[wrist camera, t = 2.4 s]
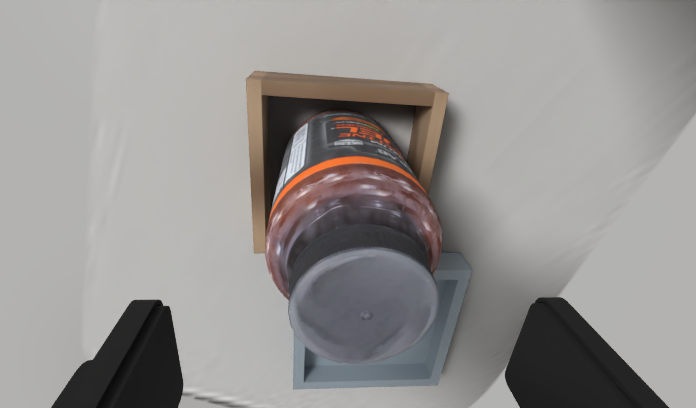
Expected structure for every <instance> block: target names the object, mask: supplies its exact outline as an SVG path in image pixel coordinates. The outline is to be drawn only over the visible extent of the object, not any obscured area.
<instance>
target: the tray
mask: <svg viewBox="0 0 696 408" xmlns="http://www.w3.org/2000/svg"><path fill="white" fill-rule="evenodd" d="M471 272H472V270H471V268H470V266H469V265H468V263H467V262H466V260H465V259H464V257H463V255H462V254H461V253H441V256H440V260H439V264H438V266H437V269H436V270H435V272H434V274H433V277H434V279H435V281H436V284H437V287H438V292H439V308H438V313H437V316H436V318H435V321H434V323H433V324H432V326H431V328H430V329H429V331H428V332H427V333H426V334H425V336H424V337H423V338H422V339H421V340H420V341H419V342H417V343H416V344H414V345H413V346H412V347H411V348H410V349H408V350H406V351H405V352H403V353H401V354H399V355H397V356H394V357H391V358H389V359H386V360H384V361H378V362H375V363H366V364H348V363H337V362H334V361H331V360H328V359H325V358H322V357H321V356H319V355H317V354H315V353H313V352H312V351H311V350H309V349H308V348H307V347H305V346H304V344H303V343H302V342H301V341H300V340H299V339H298V338H297V337H296V335H295V333H294V371H293V389H323V388H359V387H395V386H431V385H438V383H439V379H440V376H441V373H442V369H443V366H444V363H445V359H446V356H447V353H448V349H449V346H450V343H451V339H452V336H453V333H454V329H455V326H456V323H457V319H458V316H459V313H460V309H461V306H462V302H463V299H464V296H465V292H466V289H467V286H468V282H469V279H470V276H471Z"/></svg>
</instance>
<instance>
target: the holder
mask: <svg viewBox="0 0 696 408" xmlns="http://www.w3.org/2000/svg"><path fill="white" fill-rule="evenodd" d="M246 91H247V113H248V134H249V156H250V177H251V198H252V220H253V241H254V253H265V242H266V231H267V226H268V222H269V218H270V213H271V207H270V157H269V107H268V96H283V97H298V98H313V99H328V100H344V101H359V102H374V103H389V104H404V105H416V110H415V116H414V122H413V128H412V134H411V140H410V146H409V152H408V158H407V164H408V165H409V167H410V168H411V170H412V171H413V173H414V174H415V176H416V177H417V179H418V180H419V182H420V183H421V185H422V187H423V189H424V190H425V192H426V194H427V195H428V192H429V188H430V183H431V178H432V173H433V168H434V163H435V158H436V153H437V148H438V143H439V139H440V134H441V129H442V124H443V119H444V114H445V109H446V104H447V99H448V95H449V93H447V92H445V91H444V90H442V89H440V88H438V87H436V86H434V85H433V84H424V83H411V82H397V81H383V80H370V79H356V78H343V77H329V76H316V75H302V74H288V73H275V72H261V71H254V72H253V73H252V74H251V75H250V76H249V77H248V78H246Z"/></svg>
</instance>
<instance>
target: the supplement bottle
mask: <svg viewBox="0 0 696 408" xmlns="http://www.w3.org/2000/svg"><path fill="white" fill-rule="evenodd" d="M441 250H442V228H441V224H440V221H439V217H438V215H437V212H436V210H435V208H434V206H433V204H432V202H431V200H430V198H429V197H428V195H427V194H426V192H425V190H424V189H423V187H422V185H421V183H420V182H419V180H418V179H417V177H416V176H415V174H414V173H413V171H412V170H411V168H410V167H409V165H408V164H407V162H406V161H405V159H404V158H403V156H402V154H401V153H400V151H399V150H398V148H397V146H396V144H395V143H394V142H393V140H392V138H391V137H390V135H389V134H388V133H387V132H386V131H385V130H384V128H383V127H382V126H381V125H380V124H378V123H377V122H376V121H375V120H373V119H372V118H370V117H369V116H367V115H365V114H363V113H360V112H356V111H352V110H343V109H339V110H330V111H325V112H321V113H319V114H317V115H314V116H312V117H311V118H310V119H308V120H307V121H305V122H304V123H303V124H302V125H300V126H299V128H298V129H297V130H296V131H295V132H294V134H293V135H292V137H291V139H290V140H289V143H288V145H287V147H286V150H285V154H284V158H283V162H282V167H281V171H280V175H279V179H278V183H277V187H276V192H275V197H274V200H273V204H272V209H271V213H270V218H269V222H268V226H267V231H266V242H265V255H266V261H267V266H268V270H269V273H270V275H271V277H272V279H273V281H274V283H275V284H276V286H277V287H278V289H279V290H280V292H281V293H282V294H283V295H284V296H285V297H286V298H287V299H288V300H289V306H288V313H289V320H290V324H291V327H292V328H293V330H294V333H295V335H296V337H297V338H298V339H299V340H300V341H301V342H302V343H303V344H304V346H305V347H307V348H308V349H309V350H311V351H312V352H313V353H315V354H317V355H319V356H321V357H322V358H325V359H328V360H331V361H334V362H337V363H348V364H366V363H375V362H378V361H384V360H386V359H389V358H391V357H394V356H397V355H399V354H401V353H403V352H405V351H406V350H408V349H410V348H411V347H412V346H413V345H414V344H416V343H417V342H419V341H420V340H421V339H422V338H423V337H424V336H425V334H426V333H427V332H428V331H429V329H430V328H431V326H432V324H433V323H434V321H435V318H436V316H437V313H438V308H439V292H438V287H437V284H436V281H435V279H434V277H433V274H434V272H435V270H436V269H437V266H438V264H439V260H440V256H441Z"/></svg>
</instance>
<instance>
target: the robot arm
mask: <svg viewBox="0 0 696 408" xmlns="http://www.w3.org/2000/svg"><path fill="white" fill-rule="evenodd" d="M505 379H506V382H507V385H508V387H509V389H510V391H511V392H512V394H513V396H514V398H515V399H516V401H517V403H518V405H519V406H520V408H669V407H668V406H667V405H666V404H665V403H664V402H663V401H662V400H661V399H660V398H659V397H658V396H657V395H656V394H655V392H654V391H653V390H652V389H651V388H650V387H649V386H648V385H647V384H646V383H645V382H644V381H643V380H642V379H641V378H640V377H639V376H638V375H637V374H636V373H635V372H634V371H633V370H632V368H631V367H629V365H627V363H626V362H625V361H624V360H623V359H622V358H621V357H620V356H619V355H618V354H617V353H616V352H615V351H614V350H613V349H612V348H611V347H610V346H609V345H608V344H607V343H606V341H605V340H604V339H603V338H602V337H601V336H600V335H599V334H598V333H597V332H596V331H595V330H594V329H593V328H592V327H591V326H590V325H589V324H588V323H587V322H586V321H585V320H584V318H582V316H580V314H579V313H578V312H577V311H576V310H575V309H574V308H573V307H572V306H571V305H570V304H569V303H568V302H567V301H566V300H565V299H563V298H560V297H556V298H538V299H537V300H536V302H535V303H533V304H532V305H531V306H530V309H529V311H528V314H527V316H526V319H525V322H524V324H523V327H522V329H521V332H520V335H519V337H518V340H517V342H516V345H515V348H514V350H513V353H512V355H511V358H510V361H509V363H508V366H507V368H506V371H505ZM182 392H183V378H182V373H181V367H180V361H179V355H178V350H177V344H176V338H175V333H174V327H173V321H172V316H171V310H170V307H169V306H163V304H162V302H161V300H134V301H132V302H131V303H130V304H129V306H128V307H127V309H126V310H125V312H124V313H123V315H122V316H121V318H120V319H119V321H118V322H117V324H116V325H115V327H114V329H113V330H112V332H111V333H110V335H109V336H108V338H107V339H106V341H105V342H104V344H103V345H102V347H101V348H100V350H99V351H98V353H97V354H96V356H95V358H94V359H93V360H88V361H86V362H85V363H83V364H82V365H81V366H80V367H79V368H78V369H77V371H76V372H75V373H74V375H73V376H72V378H71V379H70V381H69V382H68V384H67V385H66V387H65V388H64V390H63V391H62V393H61V394H60V395H59V397H58V398H57V400H56V401H55V403H54V404H53V406H52V408H178V405H179V402H180V400H181V396H182Z"/></svg>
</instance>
